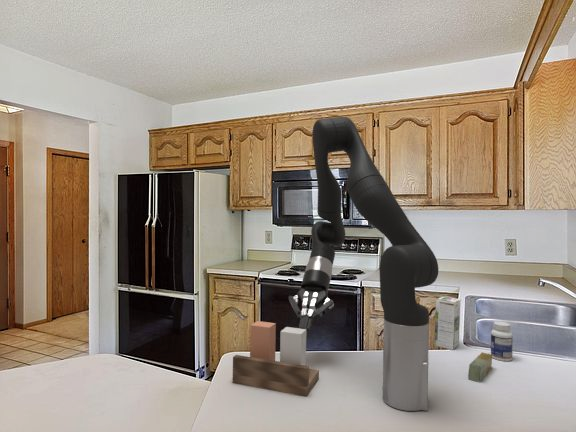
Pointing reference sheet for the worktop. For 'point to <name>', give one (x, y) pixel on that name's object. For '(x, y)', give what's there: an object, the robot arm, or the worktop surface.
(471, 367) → the medication box
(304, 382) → the console
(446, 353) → the worktop surface
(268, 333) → the orange tall block
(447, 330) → the syrup box
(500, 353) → the pill bottle
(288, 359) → the grey rectangular block
